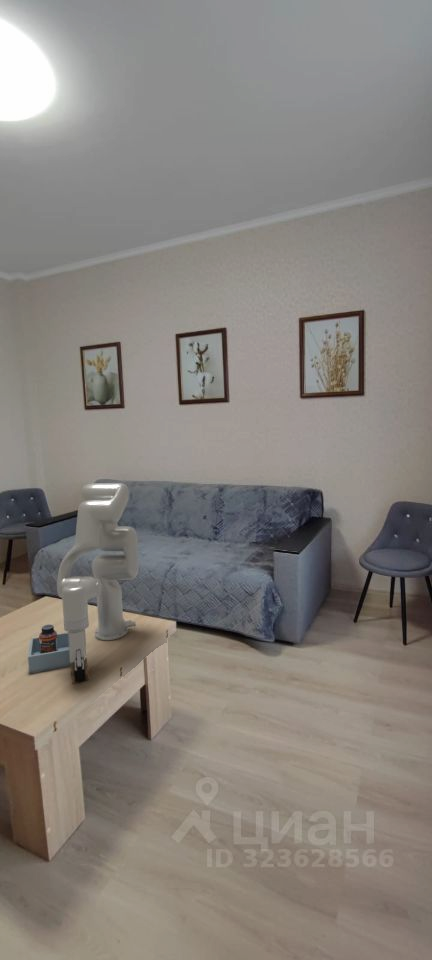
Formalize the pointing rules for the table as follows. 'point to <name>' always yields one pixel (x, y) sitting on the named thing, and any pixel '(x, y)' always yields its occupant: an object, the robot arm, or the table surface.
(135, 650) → the table surface
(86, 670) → the walnut cube
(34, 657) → the tote
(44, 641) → the supplement bottle
